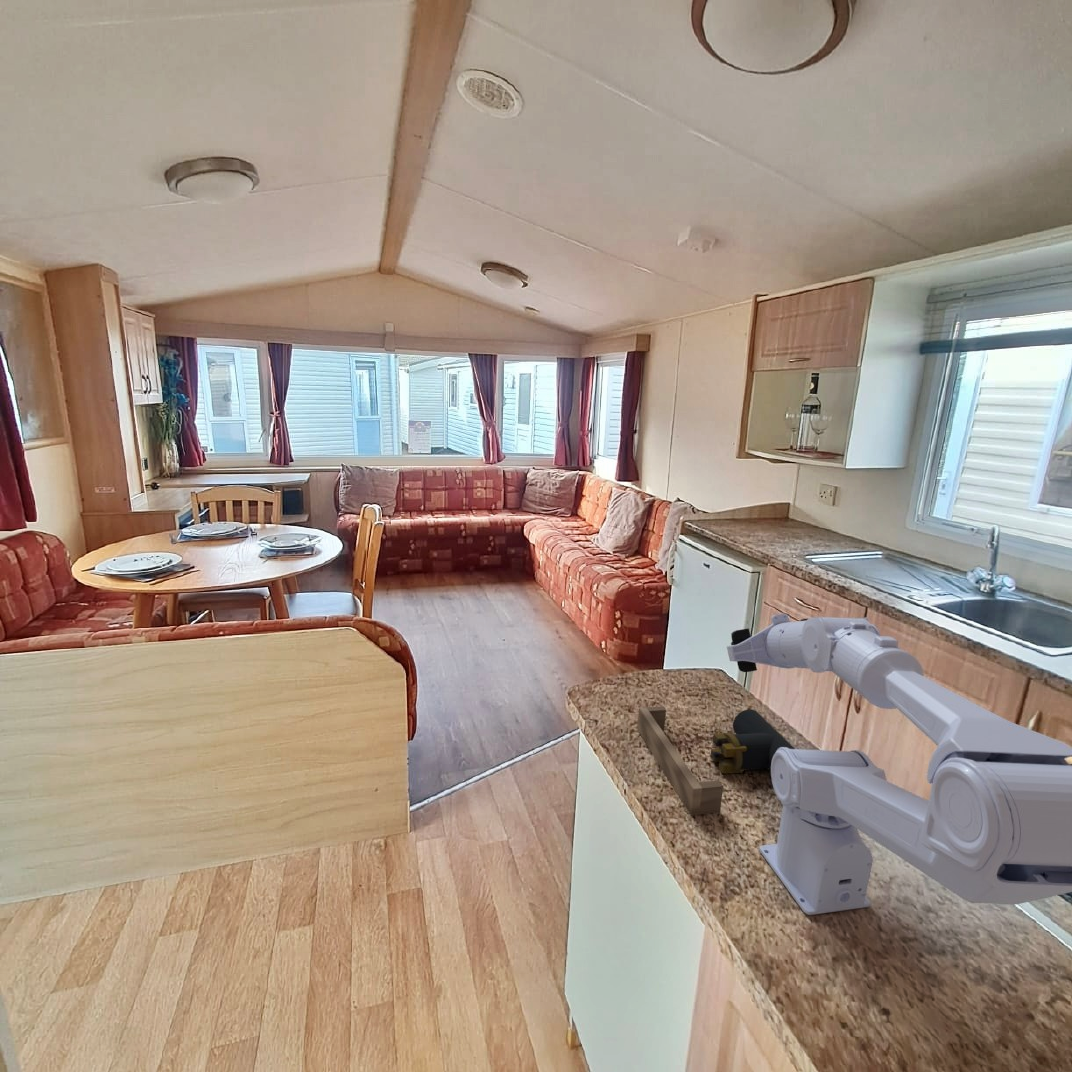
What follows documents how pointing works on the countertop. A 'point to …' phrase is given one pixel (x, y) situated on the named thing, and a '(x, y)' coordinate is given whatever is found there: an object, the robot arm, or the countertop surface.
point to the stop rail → (677, 765)
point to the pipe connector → (747, 744)
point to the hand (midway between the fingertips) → (760, 644)
